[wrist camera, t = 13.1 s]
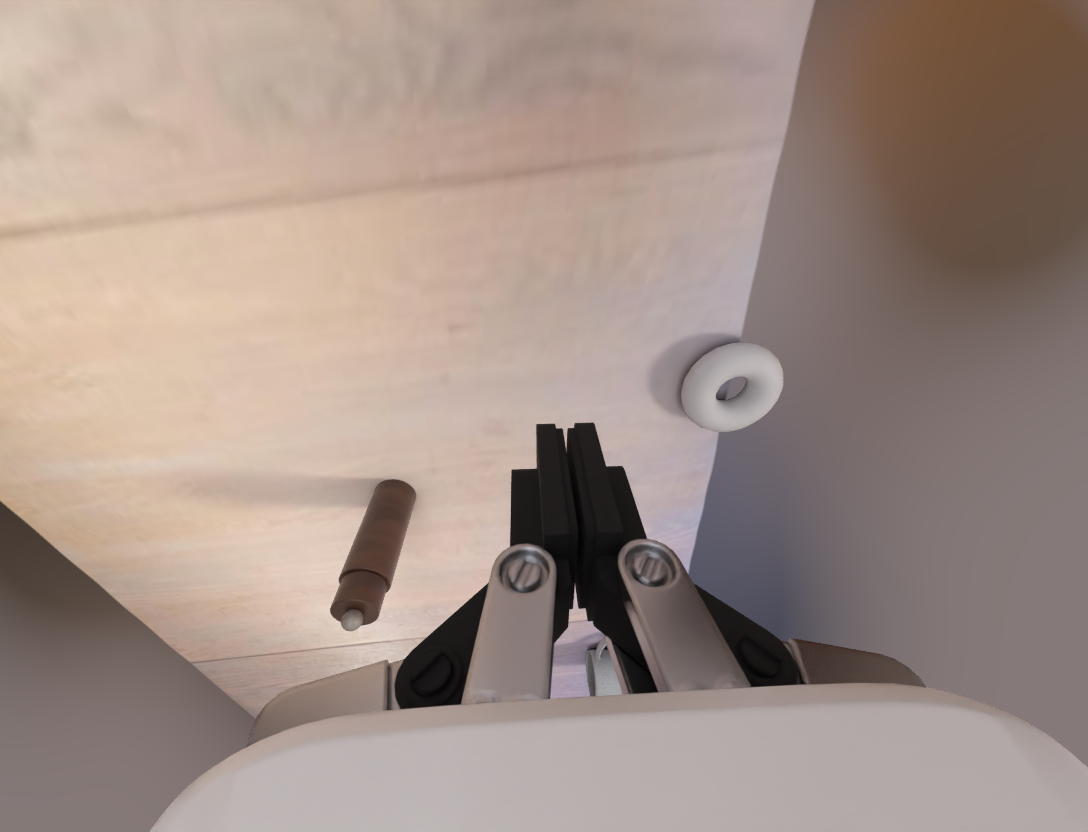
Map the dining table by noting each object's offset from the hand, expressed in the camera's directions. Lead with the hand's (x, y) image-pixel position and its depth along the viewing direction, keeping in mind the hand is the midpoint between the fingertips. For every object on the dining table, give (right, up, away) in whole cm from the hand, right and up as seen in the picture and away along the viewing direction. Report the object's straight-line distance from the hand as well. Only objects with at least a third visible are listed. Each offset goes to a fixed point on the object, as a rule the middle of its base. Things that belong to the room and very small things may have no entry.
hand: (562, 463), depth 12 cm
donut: (+18, +5, +31) cm, 36 cm away
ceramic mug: (+11, -40, +61) cm, 74 cm away
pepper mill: (-19, -8, +37) cm, 42 cm away
